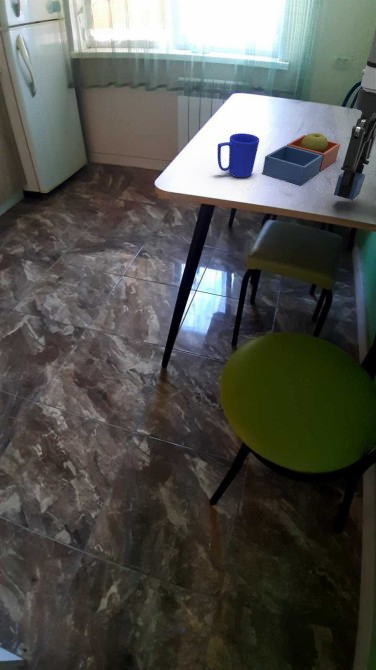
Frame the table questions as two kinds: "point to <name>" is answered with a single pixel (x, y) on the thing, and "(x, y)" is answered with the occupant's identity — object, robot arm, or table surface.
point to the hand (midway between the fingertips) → (347, 193)
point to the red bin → (327, 157)
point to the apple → (315, 142)
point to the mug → (240, 154)
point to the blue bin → (292, 164)
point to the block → (355, 187)
